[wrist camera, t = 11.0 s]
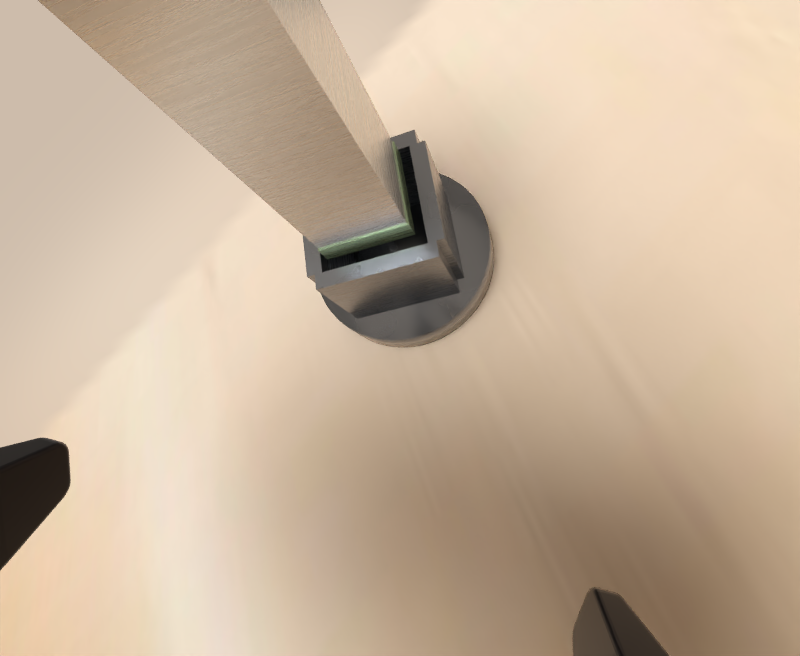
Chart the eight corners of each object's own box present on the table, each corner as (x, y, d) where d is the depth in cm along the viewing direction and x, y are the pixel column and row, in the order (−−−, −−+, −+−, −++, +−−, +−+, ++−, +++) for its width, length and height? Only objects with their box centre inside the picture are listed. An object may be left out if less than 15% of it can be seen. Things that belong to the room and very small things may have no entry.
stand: (511, 324, 21) (497, 279, 16) (339, 363, 23) (274, 335, 17) (474, 165, 23) (451, 80, 18) (321, 213, 25) (259, 148, 20)
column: (436, 246, 16) (120, -323, 4) (313, 280, 18) (-209, -102, 6) (414, 133, 18) (126, -536, 6) (301, 171, 19) (-138, -325, 7)
